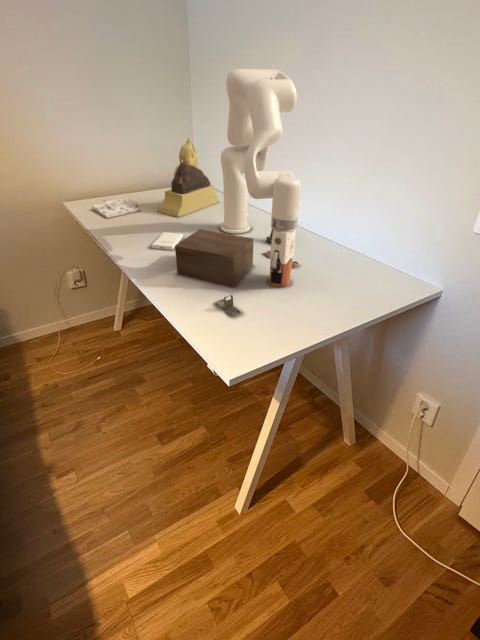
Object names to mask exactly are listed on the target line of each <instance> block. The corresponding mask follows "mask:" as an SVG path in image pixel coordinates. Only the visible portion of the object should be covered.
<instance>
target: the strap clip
mask: <svg viewBox="0 0 480 640" xmlns="http://www.w3.org/2000/svg"><path fill="white" fill-rule="evenodd" d="M229 297H230V298H229ZM227 298H229V299H227ZM215 302H216V305H217V306H218V307H219V308H220V309H222V310H225V312H226V313H227V314H228V315H229V316H232V317H236V316H238V315H240V314H241V310H239V309H238V308H236V307H234V296H233V294H229V295H226V296H224V297H223V298H222V299H219V300H217V301H215Z"/></svg>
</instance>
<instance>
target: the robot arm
mask: <svg viewBox="0 0 480 640" xmlns="http://www.w3.org/2000/svg"><path fill="white" fill-rule="evenodd" d="M225 81H226V83H225V85H226V93H227V97H228V103H229V107H228V119H227V129H226V132H227V133H226V135H227V141H228V143H229V144H230V146H227V147H225V148H224V149H223V150H222V151H221V153H220V163H221V170H222V171H221V172H222V181H223V222H222V223H221V224H220V230H221V231H222V232H223V233H226V234H232V235H237V234H244V233H247V232H249V231H251V227H252V226H251V224H250V223H248V218H250V214H249V213H248V202H249V201H248V197H249V196H250V197H251V198H253V199H255V200H264V199H272V202H271V219H270V228H271V230H272V229H273V235H272V242H271V243H270V251H271V253H270V257H269V258H270V259H269V260H271V262H272V263H271V268H272V269H271V282H272V283H276V284H281V280H282V272H281V269H282V264H284V265H285V264H286V263H287V262H288V261H289V260H290V259H291V258H293V256H294V254H295V251H296V250H295V249H296V230H297V228H298V223H299V222H298V220H299V210H300V202H301V200H300V199H301V192H302V182H301V180H300V179H299V178H297V177H295V174H294V173H293V172H292V171H291V170H288V169H278V170H277V169H276V170H265V168H266V166H267V162H268V157H269V151H270V147H271V146H272V145H274V144H276V143H277V142H278V141H279V140H280V139H281V138H283V135H284V129H283V124H282V118H281V113H291V112H292V111H293V110H295V108H296V106H297V100H298V93H297V89H296V85H295V83H294V81H293V80H292V78H290V77H289V76H288V75H286V74H285V73H284V72H283V71H281V70H279V69H271V68H269V69H268V68H235V69H231V70H230V71H229V72H228V74H227V76H226V80H225ZM243 174H244V177H243ZM248 194H249V195H248ZM278 260H280V262H277V261H278ZM277 264H280V265H279V267H278V266H277Z"/></svg>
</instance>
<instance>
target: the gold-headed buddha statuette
mask: <svg viewBox="0 0 480 640" xmlns="http://www.w3.org/2000/svg"><path fill="white" fill-rule="evenodd" d="M193 143H194V140H193V138H192V137H188V138H187V139H186V142H185V143H184V144H183V145H181V147H180V150H179V152H178V153H179V154H178V160H179V164H178V165H177V166H176V168H175V169H174V172H173V179H172V181H171V182H170V183H171V189H168V190H165V191H164V198H163V200H162V202H161V203H160V204H159V206H157V212H159V213H162V214H166V215H170V216H173V217H177V218H180V217H183V216H186V215H187V214H190V213H193V212H196V211H199V210H202V209H203V208H206V207H209V206H212V205H214V204H217V203H219V197H218V196H217V195H216V193H215V189H214V184H211V181H210V180H209V177H208V176H207V175H206V174H204V171H203V170H201V169H199V168H198V166H199V165H198V163H199V162H198V161H199V156H198V154H197V151H196V147H195V146H194V144H193Z"/></svg>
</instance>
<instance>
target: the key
mask: <svg viewBox="0 0 480 640" xmlns="http://www.w3.org/2000/svg"><path fill="white" fill-rule="evenodd" d="M270 253H271V250H269V251H266V252H263V255H264V256H266V257H267V258H270ZM298 266H299V262H298V261H292V267H291V268H295V267H298Z"/></svg>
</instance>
